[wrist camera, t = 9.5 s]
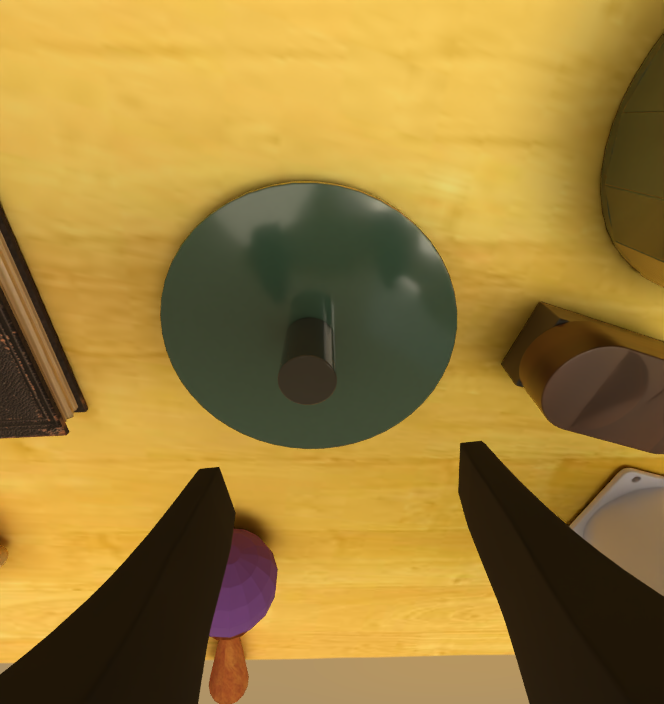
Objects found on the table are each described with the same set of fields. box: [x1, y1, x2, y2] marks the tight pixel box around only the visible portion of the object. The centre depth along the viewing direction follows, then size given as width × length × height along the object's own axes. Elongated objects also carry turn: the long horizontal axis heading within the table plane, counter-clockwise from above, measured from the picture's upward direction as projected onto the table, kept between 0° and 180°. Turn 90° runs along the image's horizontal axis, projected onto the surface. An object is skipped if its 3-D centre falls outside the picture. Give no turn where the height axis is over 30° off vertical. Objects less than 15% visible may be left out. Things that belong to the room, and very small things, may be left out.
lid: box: [160, 181, 457, 449], centre depth 19 cm, size 14×14×5 cm
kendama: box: [209, 529, 278, 704], centre depth 30 cm, size 6×6×20 cm
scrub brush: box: [501, 302, 664, 454], centre depth 20 cm, size 9×4×4 cm, turn 72°
